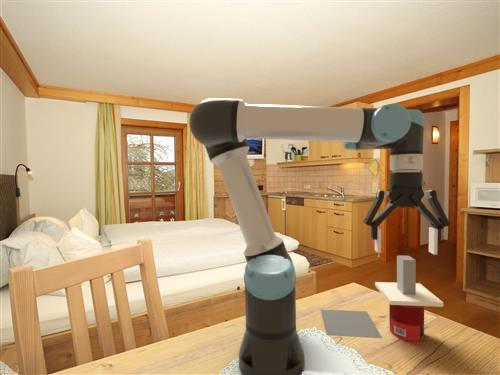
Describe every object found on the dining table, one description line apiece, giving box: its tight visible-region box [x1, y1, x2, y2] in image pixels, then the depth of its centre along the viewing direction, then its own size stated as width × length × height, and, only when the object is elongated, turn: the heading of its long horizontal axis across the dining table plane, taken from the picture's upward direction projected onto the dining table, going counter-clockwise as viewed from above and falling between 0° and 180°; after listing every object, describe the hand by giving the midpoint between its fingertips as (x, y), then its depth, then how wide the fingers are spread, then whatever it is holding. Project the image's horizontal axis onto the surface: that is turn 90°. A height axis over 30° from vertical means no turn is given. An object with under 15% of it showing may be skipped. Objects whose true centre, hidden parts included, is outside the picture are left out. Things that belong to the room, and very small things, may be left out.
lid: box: [374, 254, 445, 308], centre depth 72 cm, size 12×12×10 cm
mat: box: [319, 309, 383, 339], centre depth 78 cm, size 14×14×1 cm
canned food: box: [388, 302, 425, 343], centre depth 72 cm, size 8×8×11 cm
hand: (404, 252), depth 72 cm, fingers open, 13 cm apart
